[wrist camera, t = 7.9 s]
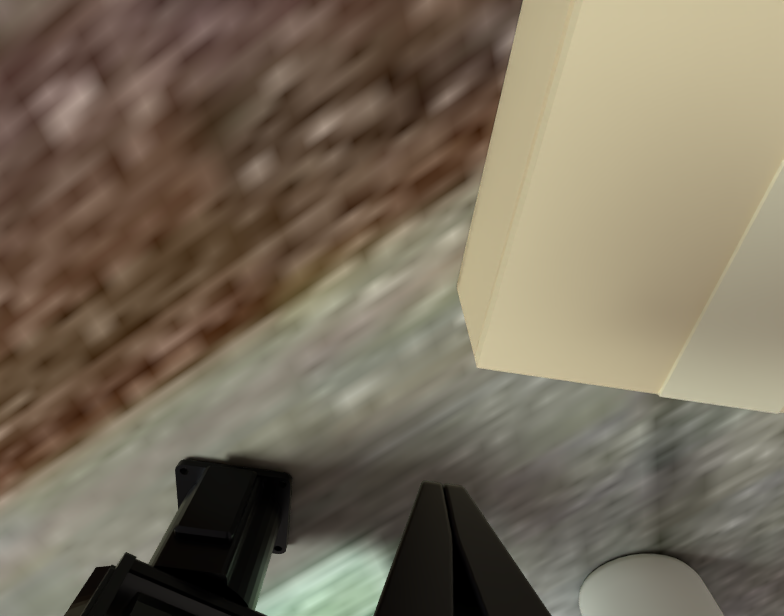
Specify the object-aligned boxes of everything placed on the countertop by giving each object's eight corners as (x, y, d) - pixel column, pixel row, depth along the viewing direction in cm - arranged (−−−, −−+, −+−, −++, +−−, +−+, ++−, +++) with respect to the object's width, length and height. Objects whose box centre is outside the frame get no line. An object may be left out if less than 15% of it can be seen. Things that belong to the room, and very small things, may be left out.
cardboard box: (792, 337, 21) (926, 422, 16) (456, 286, 20) (474, 355, 15) (976, 40, 16) (1275, 12, 10) (532, -40, 15) (602, -115, 10)
